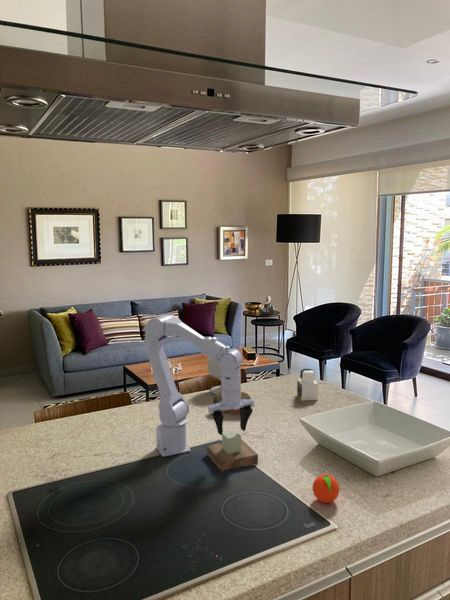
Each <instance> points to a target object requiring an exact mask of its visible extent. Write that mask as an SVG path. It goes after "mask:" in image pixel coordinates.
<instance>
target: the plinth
mask: <svg viewBox="0 0 450 600" xmlns="http://www.w3.org/2000/svg"><path fill="white" fill-rule="evenodd" d="M206 454H207V455H206V456H208V458H209V457H210V458H211V459H212V460H211V459H210V458H209V459H210V460H211V462H213V463H214V465H215V464H216V465H217V466H216V465H215V466H216V467H217V468H218V469H219V471H220V470H221V471H222V472H225V471H224V470H227V471H229V470H228V469H232V468H236V469H238V468H237V467H241V466H246V465H250V466H253V465H252V464H255V465H258V463H259V453H257V452H256V451H255V450H254V449H253V448H252V447H250V446H249V445H248V444H247V443H246V442H245V441H244V440H243V439H242V438H241V452H236V453H232V454H227V453H226V452H225V451H224V450H223V449H222V442H220V443H219V442H218V443H215V444H208V445H207V446H206ZM246 467H247V466H246ZM241 468H242V467H241ZM232 470H233V469H232ZM221 471H220V472H221Z"/></svg>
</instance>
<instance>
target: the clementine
mask: <svg viewBox="0 0 450 600" xmlns="http://www.w3.org/2000/svg"><path fill="white" fill-rule="evenodd" d="M312 493H313V496H315V498H316V499H317V500H318V501H320V502H321V503H325V504H329V503H331V502H334V501H335V500H336V499H337V498H338V497H339V494H340V485H339V483H338V481H337V479H335V477H333V476H332V475H329V474H324V473H323V474H321V475H319V476H317V477H316V478H315V479H314V481H313V483H312Z"/></svg>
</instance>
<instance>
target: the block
mask: <svg viewBox="0 0 450 600" xmlns="http://www.w3.org/2000/svg"><path fill="white" fill-rule="evenodd" d="M241 439H242V436H241V434H239V433H238V432H237V431H236V430H232V431H226V432H223V434H222V435H221V443H222V449H223V450H224V451H225V452H226V453H227V454H232V453H236V452H241Z"/></svg>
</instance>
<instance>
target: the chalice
mask: <svg viewBox="0 0 450 600" xmlns="http://www.w3.org/2000/svg"><path fill="white" fill-rule="evenodd" d="M206 369H207V373H208V374H209V375H210V376H212V377H213V378H215V379H218V380H219V381H220V383H221V384H220V385H217V386H212V387H211V388H210V389H209V393H210V394H213V395H216V394H217V393H219V392H220V391H222V370H221V368H220V367H219V364H218V363H217V362H215V361H213V360H212V359H210V358H208V362H207V364H206Z"/></svg>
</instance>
